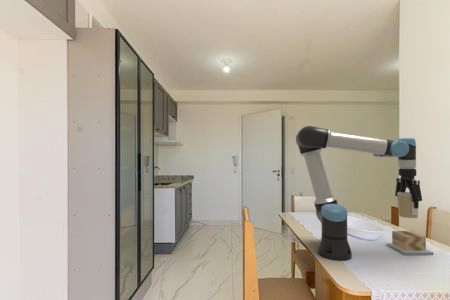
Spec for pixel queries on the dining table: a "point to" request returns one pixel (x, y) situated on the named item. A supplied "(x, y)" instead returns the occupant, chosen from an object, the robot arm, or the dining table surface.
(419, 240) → the oak block
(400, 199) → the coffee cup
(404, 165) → the robot arm
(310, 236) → the dining table surface
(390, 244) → the grey flat square slab
